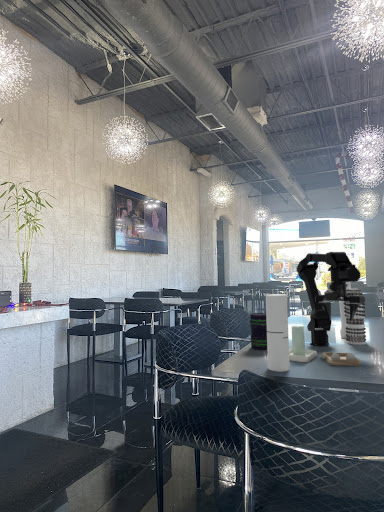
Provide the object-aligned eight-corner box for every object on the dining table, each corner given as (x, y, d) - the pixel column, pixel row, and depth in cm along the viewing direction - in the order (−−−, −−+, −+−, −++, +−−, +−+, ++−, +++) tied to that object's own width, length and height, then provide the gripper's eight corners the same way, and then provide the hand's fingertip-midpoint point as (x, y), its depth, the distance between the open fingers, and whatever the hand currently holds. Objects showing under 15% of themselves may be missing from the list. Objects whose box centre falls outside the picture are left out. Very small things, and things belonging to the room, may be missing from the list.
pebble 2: (344, 361, 122) (344, 353, 122) (348, 360, 124) (347, 351, 124) (353, 363, 120) (352, 354, 120) (356, 361, 122) (356, 353, 122)
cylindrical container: (265, 366, 121) (263, 294, 123) (285, 365, 122) (282, 294, 123) (271, 371, 114) (269, 295, 116) (292, 371, 115) (290, 295, 116)
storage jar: (274, 350, 147) (273, 315, 148) (250, 350, 148) (249, 315, 149) (272, 346, 156) (271, 312, 157) (250, 345, 158) (249, 312, 159)
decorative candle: (341, 343, 161) (339, 288, 162) (350, 340, 167) (347, 288, 168) (362, 345, 154) (359, 289, 156) (370, 342, 160) (367, 288, 162)
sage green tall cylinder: (290, 354, 135) (289, 326, 136) (301, 353, 136) (299, 325, 137) (296, 357, 130) (295, 327, 131) (307, 356, 132) (306, 327, 132)
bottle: (358, 337, 176) (355, 277, 178) (358, 339, 168) (355, 277, 170) (340, 336, 179) (338, 278, 181) (340, 338, 172) (337, 278, 174)
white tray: (291, 353, 141) (291, 348, 141) (316, 356, 135) (316, 350, 135) (281, 359, 131) (280, 354, 131) (307, 362, 125) (307, 356, 126)
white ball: (329, 361, 123) (329, 353, 123) (333, 360, 125) (333, 351, 125) (337, 363, 121) (337, 354, 121) (341, 361, 123) (341, 352, 123)
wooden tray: (322, 357, 132) (322, 352, 132) (349, 358, 131) (349, 352, 131) (330, 365, 120) (330, 359, 121) (360, 366, 119) (360, 360, 119)
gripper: (307, 282, 146) (309, 319, 145) (352, 282, 132) (354, 323, 131) (320, 281, 153) (322, 317, 152) (364, 281, 139) (366, 320, 138)
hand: (340, 319), depth 143 cm, fingers open, 9 cm apart
